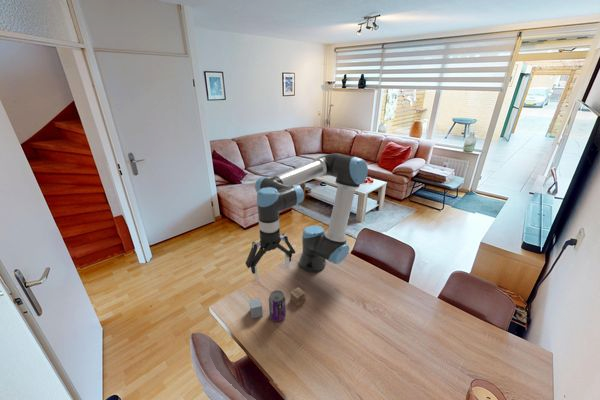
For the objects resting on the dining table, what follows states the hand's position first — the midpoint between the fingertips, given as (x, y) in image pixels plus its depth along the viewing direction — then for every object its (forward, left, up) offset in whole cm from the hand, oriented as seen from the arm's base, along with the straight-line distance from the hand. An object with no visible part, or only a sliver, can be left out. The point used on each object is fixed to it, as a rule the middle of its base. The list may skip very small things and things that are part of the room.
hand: (272, 273), depth 104 cm
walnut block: (-13, -3, -24) cm, 27 cm away
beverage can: (-1, +1, -24) cm, 24 cm away
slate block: (+7, -5, -24) cm, 25 cm away
